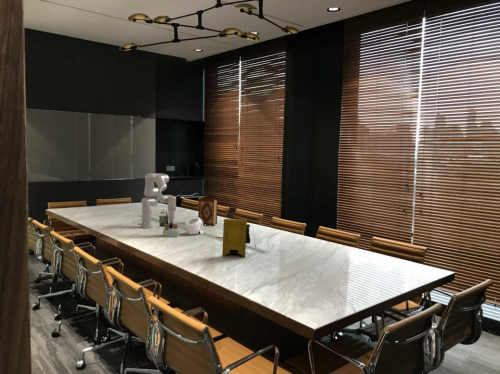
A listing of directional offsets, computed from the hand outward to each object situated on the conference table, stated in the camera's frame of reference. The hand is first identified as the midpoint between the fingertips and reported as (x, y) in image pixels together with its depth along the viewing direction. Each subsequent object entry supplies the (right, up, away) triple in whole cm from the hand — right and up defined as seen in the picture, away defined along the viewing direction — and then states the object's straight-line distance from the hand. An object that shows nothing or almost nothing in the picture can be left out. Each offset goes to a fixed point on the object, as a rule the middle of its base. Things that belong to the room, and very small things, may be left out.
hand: (171, 228), depth 369 cm
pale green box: (0, -8, +1) cm, 8 cm away
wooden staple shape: (0, -1, -1) cm, 2 cm away
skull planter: (+21, -8, +15) cm, 27 cm away
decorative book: (+26, -4, +70) cm, 75 cm away
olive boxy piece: (+64, -16, -60) cm, 89 cm away
